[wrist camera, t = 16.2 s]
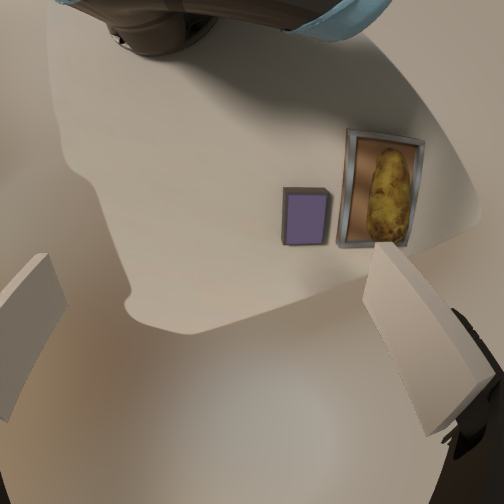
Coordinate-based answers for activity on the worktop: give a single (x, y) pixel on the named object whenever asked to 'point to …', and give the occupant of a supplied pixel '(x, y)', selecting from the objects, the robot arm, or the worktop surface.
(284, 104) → the worktop surface
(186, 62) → the worktop surface
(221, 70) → the worktop surface
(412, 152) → the metal baking tray
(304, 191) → the ink pad
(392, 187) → the potato
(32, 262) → the robot arm
